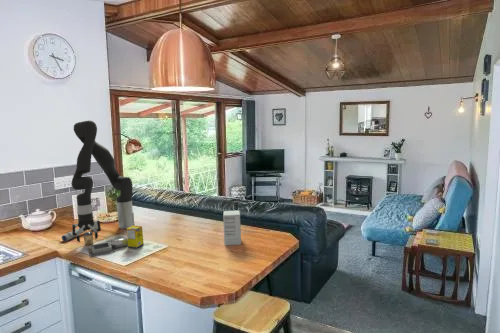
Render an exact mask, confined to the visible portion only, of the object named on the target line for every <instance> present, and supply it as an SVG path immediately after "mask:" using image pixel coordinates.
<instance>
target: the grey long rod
mask: <svg viewBox="0 0 500 333" xmlns="http://www.w3.org/2000/svg"><path fill="white" fill-rule="evenodd" d="M97 220H98V219H95V220H94V219H93V221H97ZM93 227H94V228H95V229H96V230H97V229H98V225H96V223H94V225H93ZM78 230H79V227H77V228H75V233H77V232H78ZM90 231H91V232H94V231H93V230H92V229H90ZM85 232H88V230H85V231H84V230H82V231H81V233H80V234H79V235H81V234H84V233H85ZM75 237H76V238H77V236H76V235H73V234H72V231H69V232H66V233H65V234H63V235H62V236H61V240H62V241H63V242H68V241H70V240H72V239H73V238H75Z"/></svg>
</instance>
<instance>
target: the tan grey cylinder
mask: <svg viewBox="0 0 500 333" xmlns="http://www.w3.org/2000/svg"><path fill="white" fill-rule="evenodd" d="M93 235H94V234H93V231H85V232H83V241H84V247H91V245H94V237H93Z"/></svg>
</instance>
